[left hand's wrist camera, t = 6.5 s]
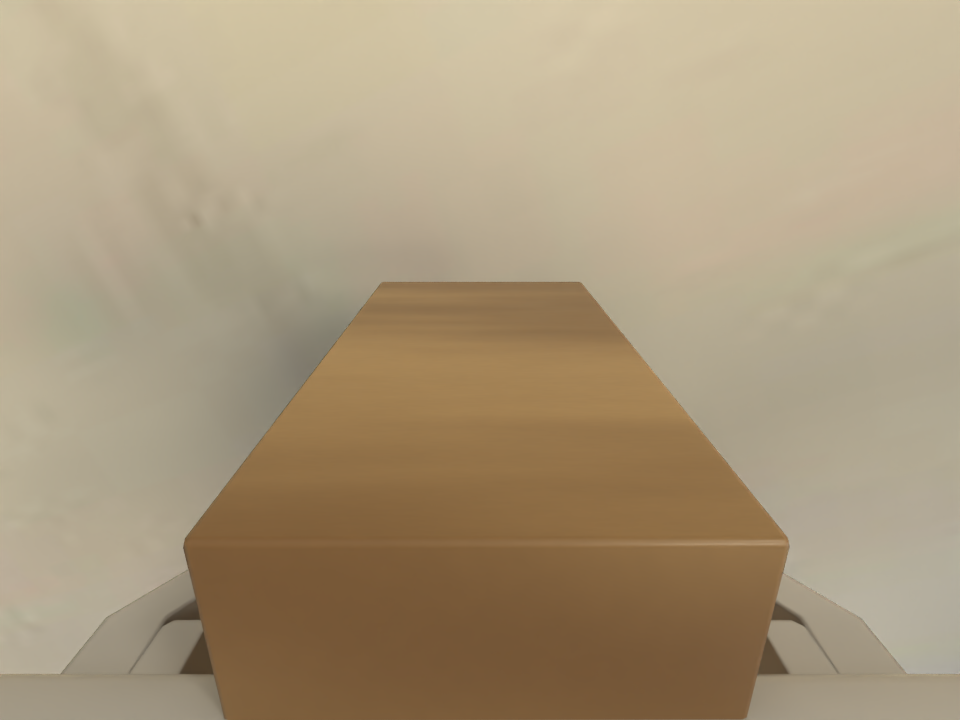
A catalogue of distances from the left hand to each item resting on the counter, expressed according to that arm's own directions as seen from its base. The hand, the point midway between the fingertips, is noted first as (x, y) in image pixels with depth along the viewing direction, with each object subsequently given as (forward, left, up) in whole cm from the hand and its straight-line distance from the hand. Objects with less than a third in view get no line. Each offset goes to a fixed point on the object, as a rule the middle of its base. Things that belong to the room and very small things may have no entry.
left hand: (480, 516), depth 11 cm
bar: (+9, 0, -4) cm, 10 cm away
